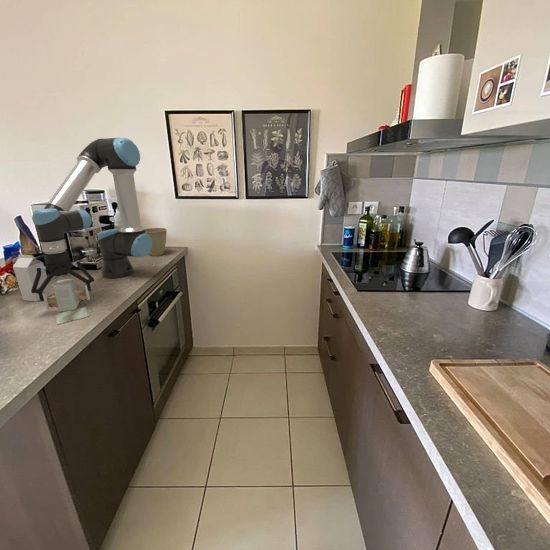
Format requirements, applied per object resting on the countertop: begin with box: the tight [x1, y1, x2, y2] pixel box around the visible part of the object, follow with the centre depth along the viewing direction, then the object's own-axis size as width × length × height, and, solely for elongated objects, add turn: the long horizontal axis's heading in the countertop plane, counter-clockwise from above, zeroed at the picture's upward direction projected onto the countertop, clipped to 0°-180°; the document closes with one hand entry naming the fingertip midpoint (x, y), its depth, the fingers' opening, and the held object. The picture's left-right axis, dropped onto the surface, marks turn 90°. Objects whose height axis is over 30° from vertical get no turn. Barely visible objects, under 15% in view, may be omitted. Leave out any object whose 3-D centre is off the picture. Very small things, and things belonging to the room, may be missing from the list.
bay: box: [46, 289, 90, 326], centre depth 116 cm, size 14×20×4 cm
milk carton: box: [12, 254, 53, 302], centre depth 126 cm, size 7×7×19 cm
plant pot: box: [145, 227, 168, 257], centre depth 190 cm, size 15×15×16 cm
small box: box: [52, 278, 80, 313], centre depth 118 cm, size 8×6×10 cm
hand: (69, 303), depth 119 cm, fingers open, 13 cm apart
